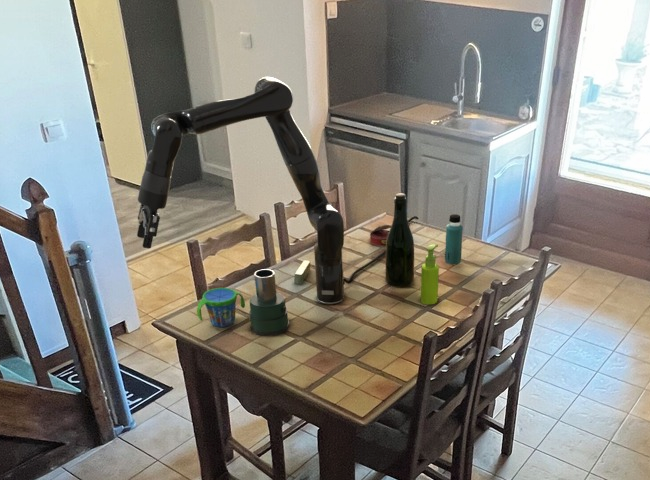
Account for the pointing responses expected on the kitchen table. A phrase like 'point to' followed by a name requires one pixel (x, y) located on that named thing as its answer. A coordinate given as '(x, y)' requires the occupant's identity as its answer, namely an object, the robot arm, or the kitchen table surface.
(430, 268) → the soap dispenser
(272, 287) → the tumbler
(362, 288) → the kitchen table surface
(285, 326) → the green lidded canister
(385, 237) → the canned food
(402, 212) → the wine bottle
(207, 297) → the snack cup
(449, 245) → the beverage bottle
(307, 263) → the medication box
